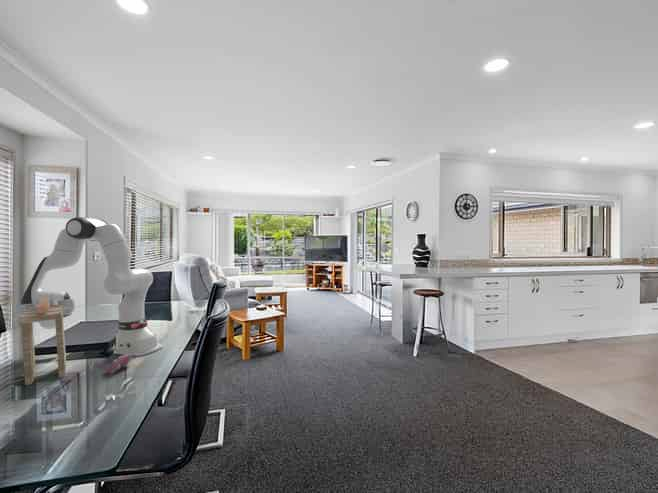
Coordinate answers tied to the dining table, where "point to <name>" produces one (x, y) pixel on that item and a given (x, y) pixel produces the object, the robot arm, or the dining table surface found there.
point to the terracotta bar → (43, 306)
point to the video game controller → (118, 363)
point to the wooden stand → (29, 340)
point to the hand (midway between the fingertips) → (45, 301)
